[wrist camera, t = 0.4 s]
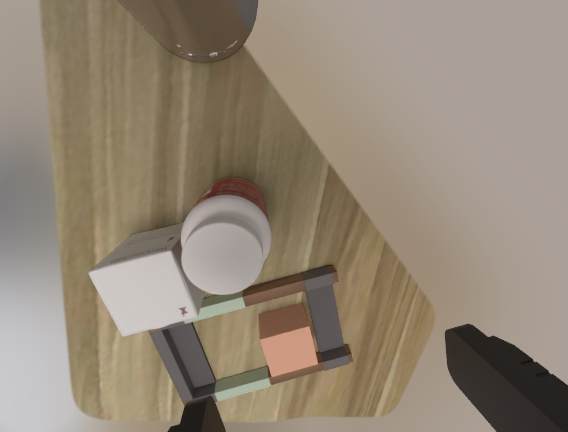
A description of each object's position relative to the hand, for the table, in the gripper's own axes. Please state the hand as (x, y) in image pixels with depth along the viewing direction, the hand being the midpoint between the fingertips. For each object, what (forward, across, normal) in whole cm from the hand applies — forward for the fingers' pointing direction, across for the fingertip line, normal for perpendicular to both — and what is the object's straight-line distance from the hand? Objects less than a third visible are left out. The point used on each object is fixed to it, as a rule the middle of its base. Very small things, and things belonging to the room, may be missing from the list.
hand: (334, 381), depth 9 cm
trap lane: (+19, +5, +12) cm, 23 cm away
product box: (+19, +11, 0) cm, 22 cm away
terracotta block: (+20, +2, +12) cm, 23 cm away
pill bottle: (+19, +4, -3) cm, 19 cm away
